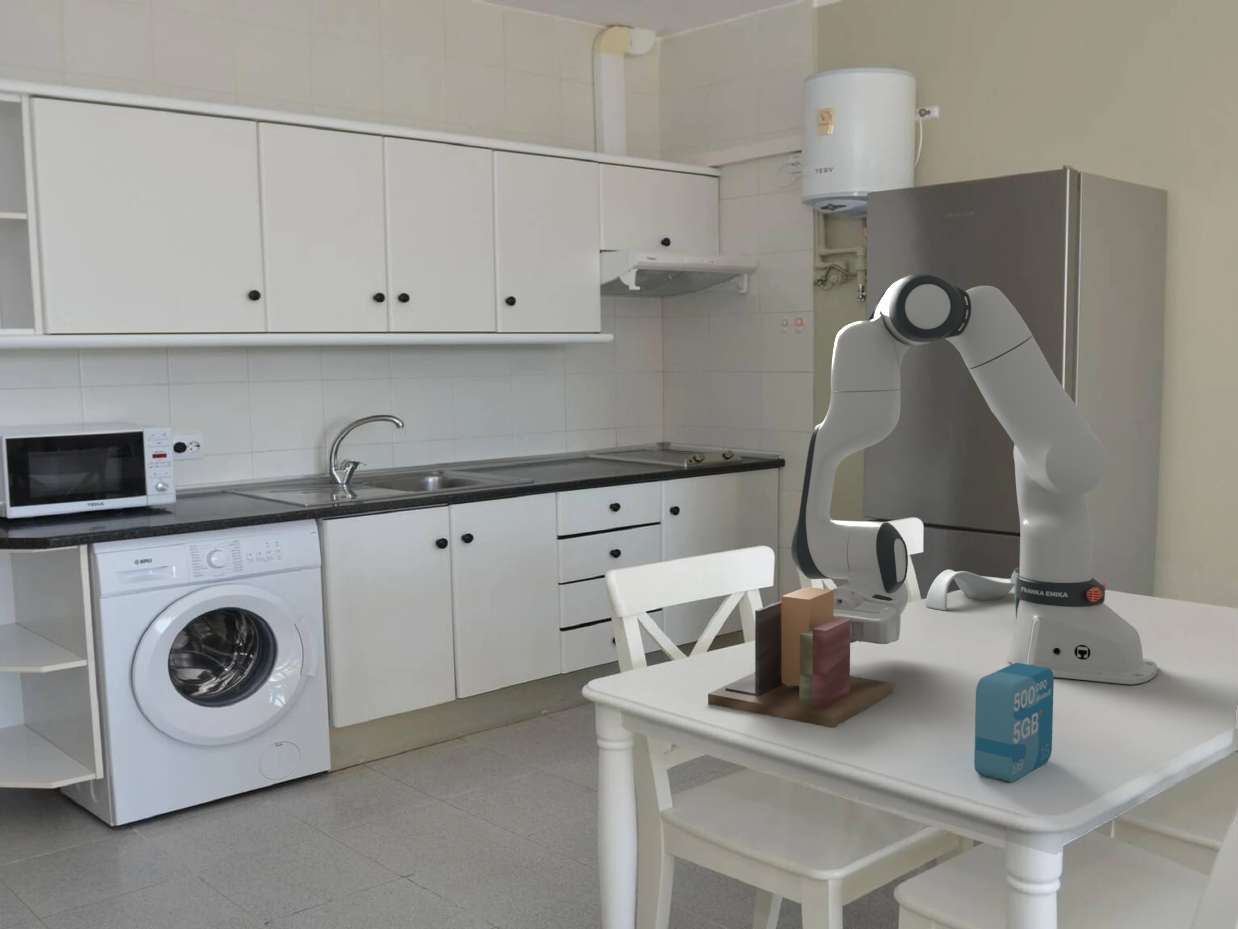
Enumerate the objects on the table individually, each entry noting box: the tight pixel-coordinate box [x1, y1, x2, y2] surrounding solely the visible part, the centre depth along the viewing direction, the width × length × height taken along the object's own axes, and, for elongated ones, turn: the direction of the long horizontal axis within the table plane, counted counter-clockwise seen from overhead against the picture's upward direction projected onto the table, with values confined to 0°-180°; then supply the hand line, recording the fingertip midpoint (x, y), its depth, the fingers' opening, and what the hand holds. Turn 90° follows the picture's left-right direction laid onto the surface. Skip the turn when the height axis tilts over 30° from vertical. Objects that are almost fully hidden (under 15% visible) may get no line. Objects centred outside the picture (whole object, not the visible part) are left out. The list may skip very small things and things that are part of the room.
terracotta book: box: [780, 586, 834, 686], centre depth 178 cm, size 4×8×13 cm, turn 144°
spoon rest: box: [924, 569, 1014, 611], centre depth 243 cm, size 24×12×7 cm, turn 133°
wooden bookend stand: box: [707, 600, 893, 729], centre depth 177 cm, size 20×20×14 cm
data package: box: [973, 663, 1055, 783], centre depth 147 cm, size 12×4×12 cm, turn 137°
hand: (808, 631), depth 178 cm, fingers closed on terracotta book, 4 cm apart
